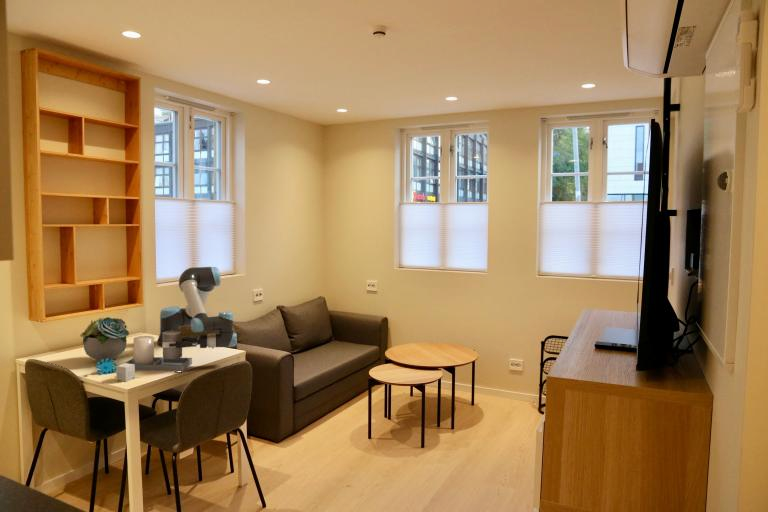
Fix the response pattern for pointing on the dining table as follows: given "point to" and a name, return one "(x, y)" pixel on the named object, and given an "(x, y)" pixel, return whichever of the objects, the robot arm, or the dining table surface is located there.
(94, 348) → the flower arrangement
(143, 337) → the white candle
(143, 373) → the dining table surface
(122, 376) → the skincare box
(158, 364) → the tray
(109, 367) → the gear
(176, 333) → the pillar candle
